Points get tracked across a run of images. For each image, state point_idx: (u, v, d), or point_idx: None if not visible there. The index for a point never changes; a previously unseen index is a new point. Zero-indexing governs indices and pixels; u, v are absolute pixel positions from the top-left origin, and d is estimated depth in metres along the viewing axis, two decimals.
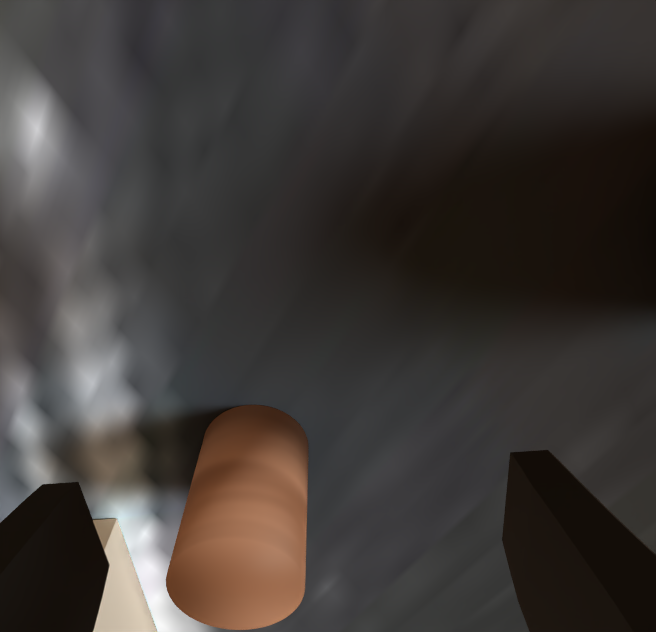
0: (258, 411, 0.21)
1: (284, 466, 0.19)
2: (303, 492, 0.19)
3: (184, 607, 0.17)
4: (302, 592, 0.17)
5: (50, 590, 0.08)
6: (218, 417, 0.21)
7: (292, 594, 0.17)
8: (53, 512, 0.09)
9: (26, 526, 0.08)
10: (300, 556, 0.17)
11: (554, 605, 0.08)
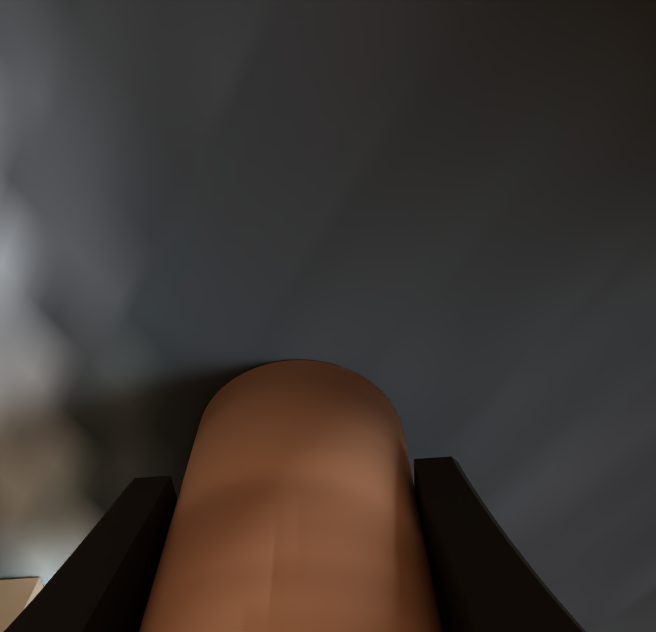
0: (311, 372, 0.10)
1: (385, 489, 0.08)
2: (425, 549, 0.08)
3: None
4: None
5: None
6: (228, 385, 0.10)
7: None
8: (155, 505, 0.08)
9: (131, 519, 0.08)
10: None
11: (441, 612, 0.08)
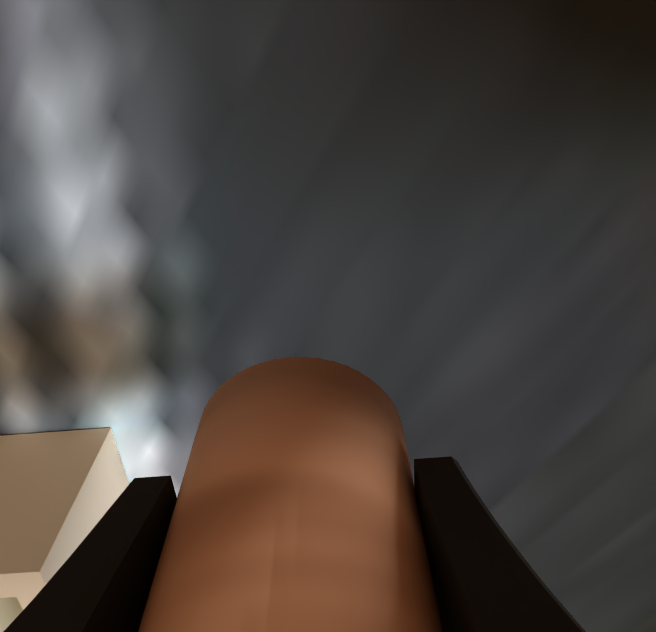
0: (312, 369, 0.10)
1: (384, 485, 0.08)
2: (424, 545, 0.08)
3: None
4: None
5: None
6: (228, 382, 0.10)
7: None
8: (154, 505, 0.08)
9: (131, 519, 0.08)
10: None
11: (441, 612, 0.08)
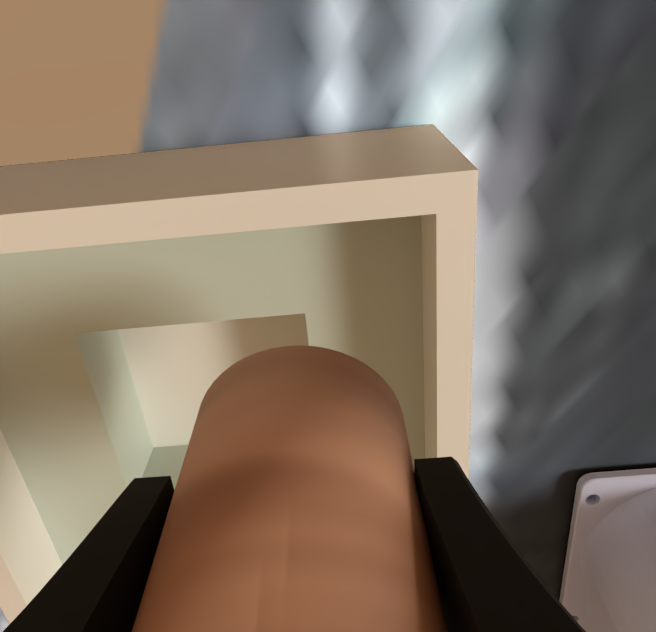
0: (321, 358, 0.10)
1: (393, 479, 0.08)
2: (428, 542, 0.08)
3: None
4: None
5: None
6: (235, 366, 0.10)
7: None
8: (154, 505, 0.08)
9: (131, 519, 0.08)
10: None
11: None
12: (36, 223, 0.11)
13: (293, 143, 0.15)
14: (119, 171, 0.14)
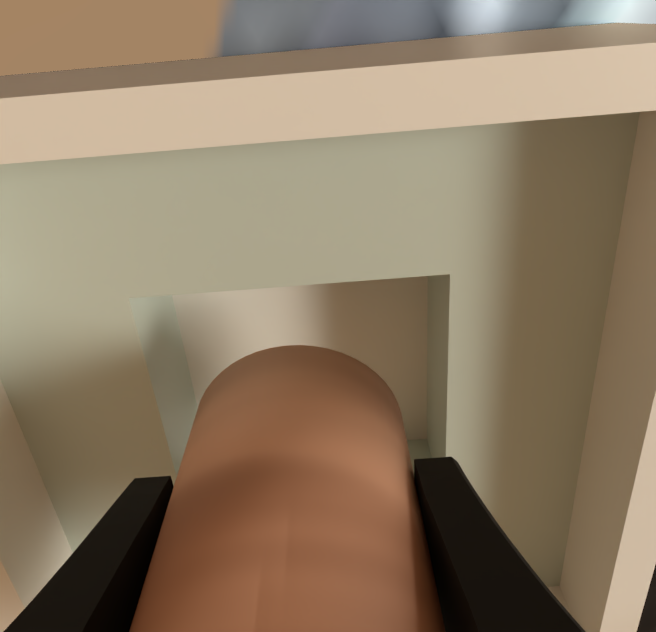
0: (321, 358, 0.10)
1: (393, 479, 0.08)
2: (427, 542, 0.08)
3: None
4: None
5: None
6: (234, 365, 0.10)
7: None
8: (155, 505, 0.08)
9: (131, 519, 0.08)
10: None
11: (442, 612, 0.08)
12: (99, 110, 0.07)
13: (434, 40, 0.11)
14: (202, 65, 0.10)
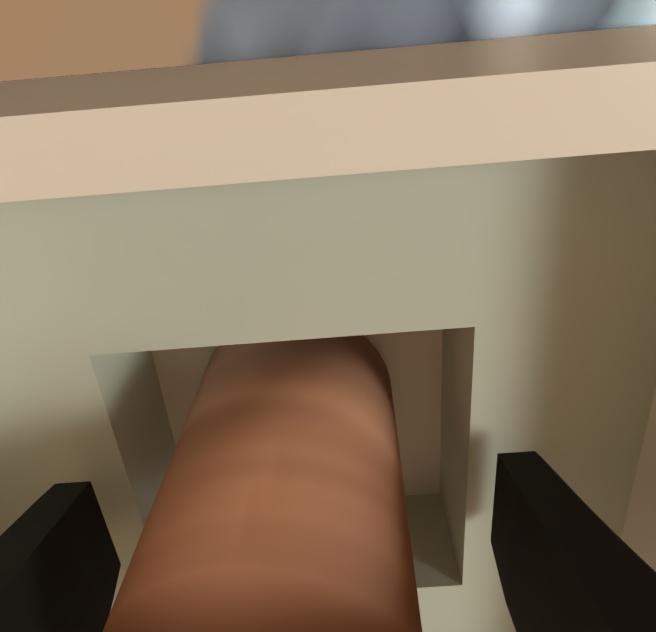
0: None
1: (373, 422, 0.09)
2: (402, 481, 0.09)
3: None
4: None
5: (64, 589, 0.08)
6: None
7: None
8: (67, 511, 0.09)
9: (40, 525, 0.08)
10: None
11: (539, 606, 0.08)
12: (25, 142, 0.05)
13: (456, 45, 0.09)
14: (173, 77, 0.08)
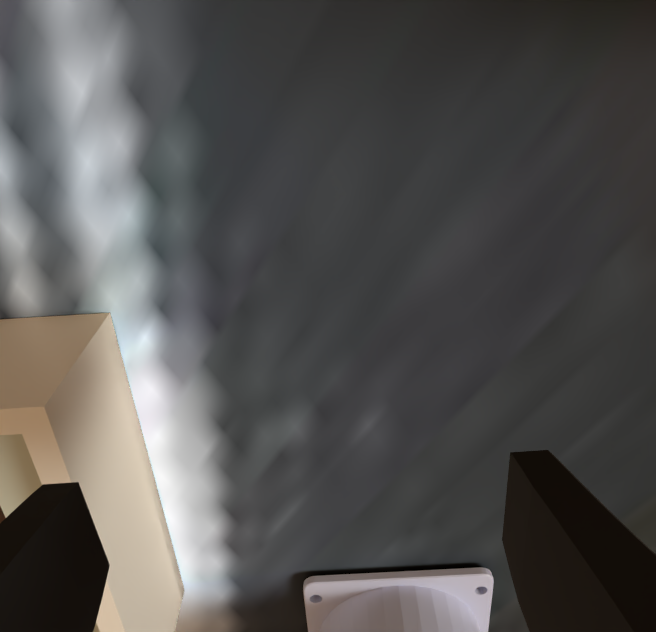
0: None
1: None
2: None
3: None
4: None
5: (50, 590, 0.08)
6: None
7: None
8: (53, 512, 0.09)
9: (26, 526, 0.08)
10: None
11: (555, 605, 0.08)
12: None
13: None
14: None
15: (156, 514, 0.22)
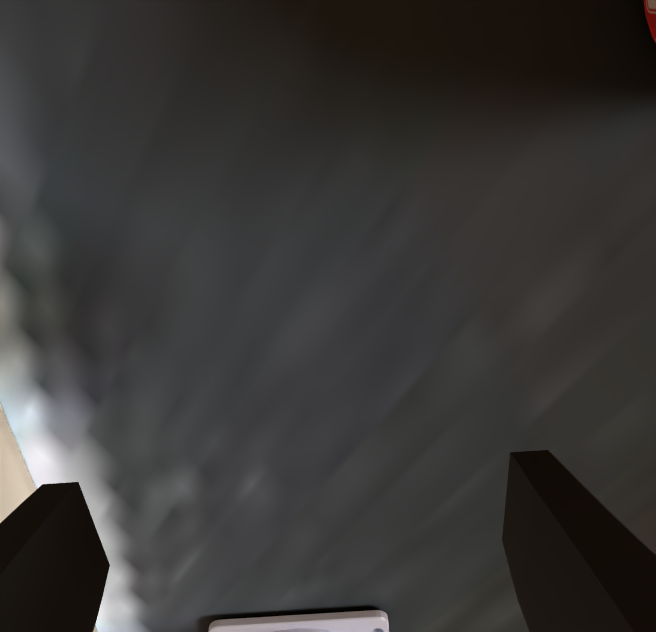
0: None
1: None
2: None
3: None
4: None
5: (50, 590, 0.08)
6: None
7: None
8: (53, 512, 0.09)
9: (26, 526, 0.08)
10: None
11: (554, 604, 0.08)
12: None
13: None
14: None
15: None
